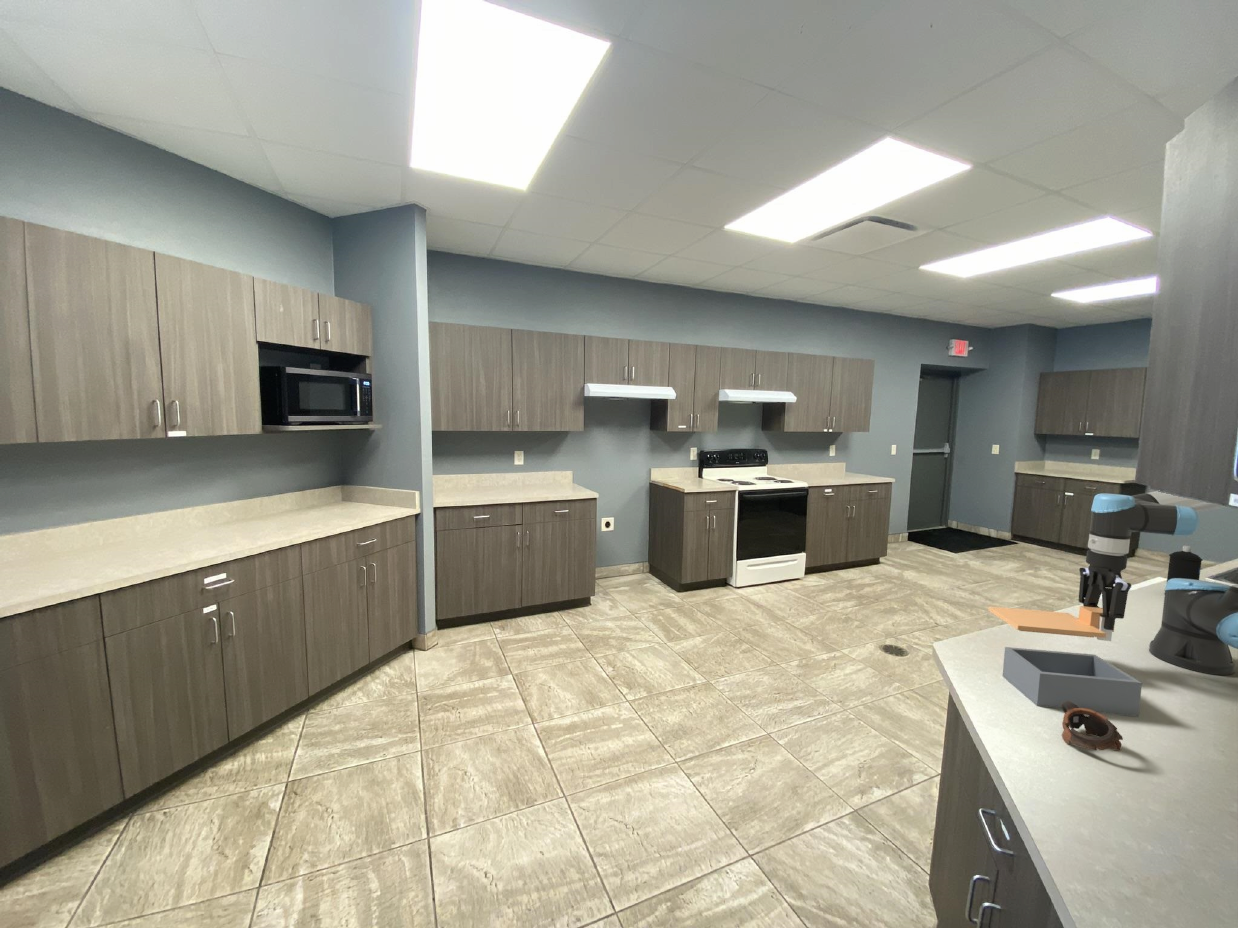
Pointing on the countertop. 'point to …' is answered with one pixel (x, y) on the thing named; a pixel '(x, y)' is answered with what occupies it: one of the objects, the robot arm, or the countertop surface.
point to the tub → (1071, 680)
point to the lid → (1053, 621)
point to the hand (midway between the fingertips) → (1096, 635)
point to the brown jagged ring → (1089, 729)
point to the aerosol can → (1184, 565)
